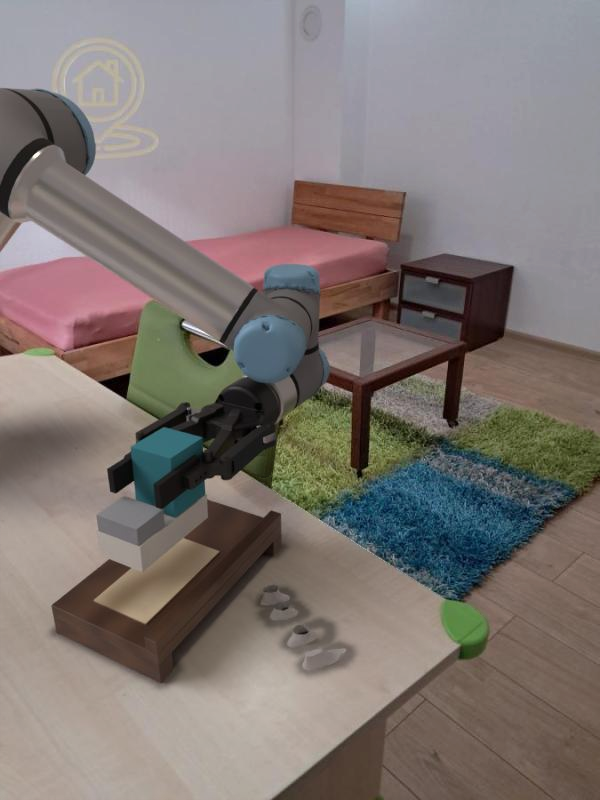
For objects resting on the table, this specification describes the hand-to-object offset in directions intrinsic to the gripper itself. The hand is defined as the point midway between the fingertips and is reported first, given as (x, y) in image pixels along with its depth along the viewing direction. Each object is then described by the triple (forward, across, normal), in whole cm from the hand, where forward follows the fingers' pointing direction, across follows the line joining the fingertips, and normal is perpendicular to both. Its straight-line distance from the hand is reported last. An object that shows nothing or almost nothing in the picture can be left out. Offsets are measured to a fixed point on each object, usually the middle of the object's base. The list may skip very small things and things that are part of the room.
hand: (134, 488), depth 63 cm
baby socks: (-6, -16, -17) cm, 24 cm away
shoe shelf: (-5, 0, -17) cm, 18 cm away
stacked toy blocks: (-2, 0, -7) cm, 8 cm away
